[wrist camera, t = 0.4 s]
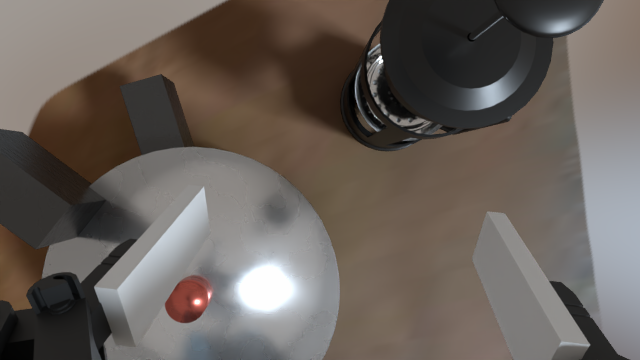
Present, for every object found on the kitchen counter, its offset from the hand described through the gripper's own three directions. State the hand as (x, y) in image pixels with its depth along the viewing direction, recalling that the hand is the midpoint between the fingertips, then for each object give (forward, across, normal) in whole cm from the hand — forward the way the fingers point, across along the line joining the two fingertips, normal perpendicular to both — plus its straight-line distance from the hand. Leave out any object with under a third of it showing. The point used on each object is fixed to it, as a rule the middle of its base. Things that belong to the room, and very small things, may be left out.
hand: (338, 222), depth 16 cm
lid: (+3, +11, +7) cm, 14 cm away
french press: (+21, -4, 0) cm, 21 cm away
